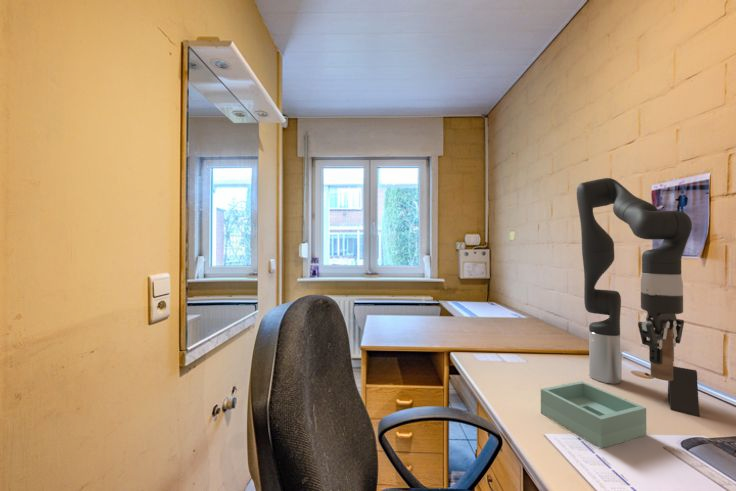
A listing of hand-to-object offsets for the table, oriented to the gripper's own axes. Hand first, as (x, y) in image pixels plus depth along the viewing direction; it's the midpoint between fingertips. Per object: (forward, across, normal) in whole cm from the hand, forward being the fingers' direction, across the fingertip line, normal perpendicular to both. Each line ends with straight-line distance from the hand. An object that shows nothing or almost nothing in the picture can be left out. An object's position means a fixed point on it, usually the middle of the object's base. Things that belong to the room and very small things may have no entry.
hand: (661, 361), depth 75 cm
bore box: (+21, +6, -13) cm, 25 cm away
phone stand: (+21, -30, -10) cm, 38 cm away
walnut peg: (+4, 0, 0) cm, 4 cm away
